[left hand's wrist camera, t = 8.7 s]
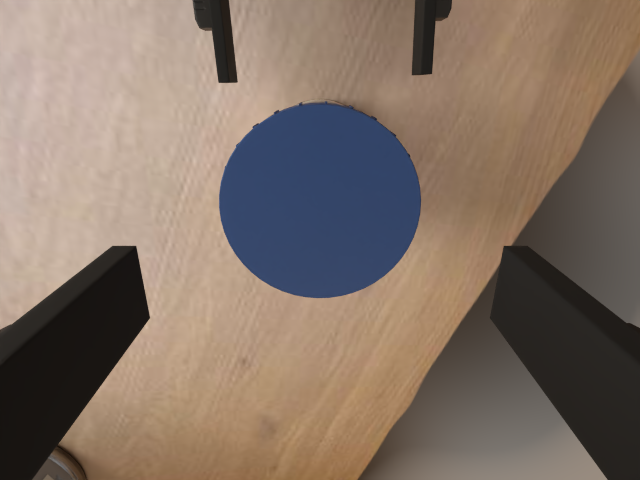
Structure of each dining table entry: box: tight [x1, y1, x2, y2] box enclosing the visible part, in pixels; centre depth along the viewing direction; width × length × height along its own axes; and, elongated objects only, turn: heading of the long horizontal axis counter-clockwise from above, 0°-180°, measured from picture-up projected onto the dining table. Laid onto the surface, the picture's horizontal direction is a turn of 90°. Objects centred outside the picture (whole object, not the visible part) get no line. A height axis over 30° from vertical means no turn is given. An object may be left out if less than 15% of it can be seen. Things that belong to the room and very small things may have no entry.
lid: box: [219, 101, 421, 298], centre depth 21 cm, size 11×11×2 cm
